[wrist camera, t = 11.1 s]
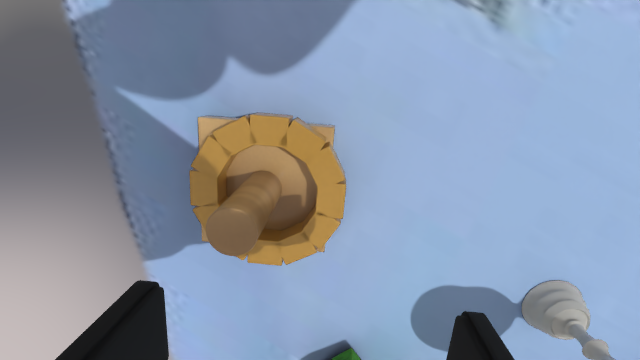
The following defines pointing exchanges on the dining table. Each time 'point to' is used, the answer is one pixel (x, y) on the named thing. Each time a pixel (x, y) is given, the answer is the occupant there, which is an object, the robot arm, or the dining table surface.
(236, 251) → the stand
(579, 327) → the chalice
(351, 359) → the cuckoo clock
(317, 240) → the ring
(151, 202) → the dining table surface
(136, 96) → the dining table surface
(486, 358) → the robot arm
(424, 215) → the dining table surface
